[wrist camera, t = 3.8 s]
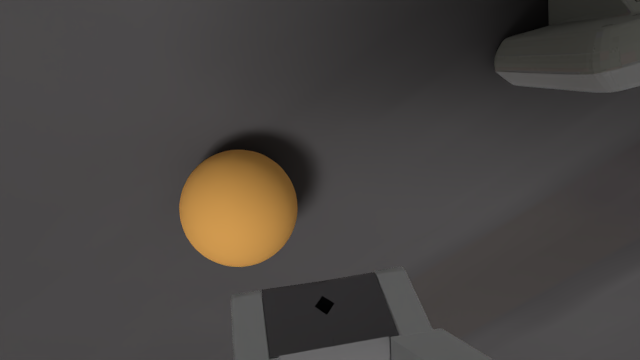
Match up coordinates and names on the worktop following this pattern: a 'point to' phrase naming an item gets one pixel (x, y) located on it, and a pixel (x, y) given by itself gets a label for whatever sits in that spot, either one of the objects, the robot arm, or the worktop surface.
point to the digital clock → (577, 48)
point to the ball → (238, 208)
